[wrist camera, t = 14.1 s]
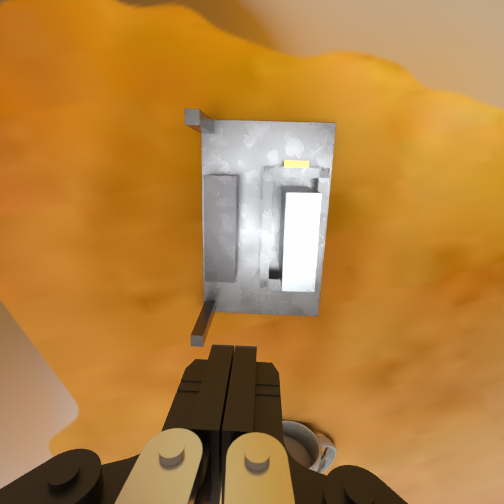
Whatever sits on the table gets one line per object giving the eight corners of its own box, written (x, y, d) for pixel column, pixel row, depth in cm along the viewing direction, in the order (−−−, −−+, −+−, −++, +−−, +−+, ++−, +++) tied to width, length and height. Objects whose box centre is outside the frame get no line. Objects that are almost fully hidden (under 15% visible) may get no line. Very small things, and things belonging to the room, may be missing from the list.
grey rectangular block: (308, 186, 34) (321, 193, 27) (303, 265, 37) (314, 291, 29) (281, 186, 34) (286, 192, 27) (278, 264, 37) (282, 291, 29)
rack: (334, 124, 34) (358, 110, 25) (316, 312, 39) (331, 354, 31) (203, 120, 34) (182, 106, 25) (205, 307, 40) (188, 347, 31)
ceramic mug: (257, 462, 46) (257, 519, 39) (262, 417, 44) (262, 468, 37) (329, 468, 46) (342, 526, 39) (337, 422, 44) (353, 475, 37)
